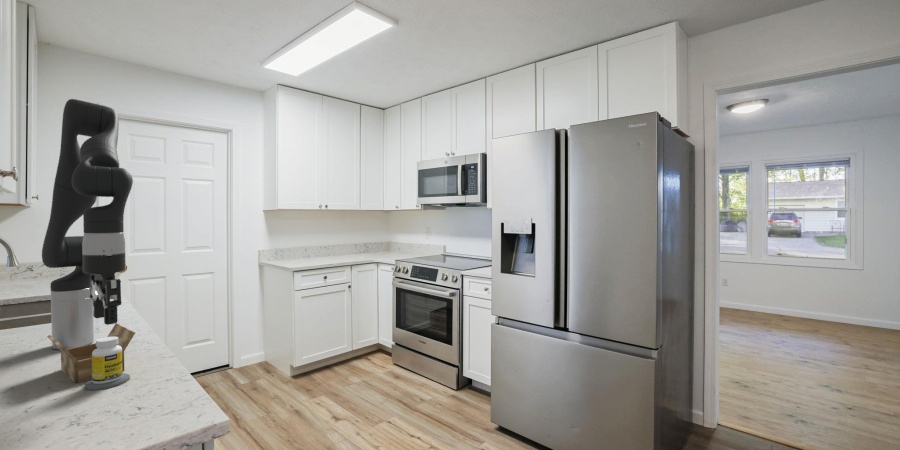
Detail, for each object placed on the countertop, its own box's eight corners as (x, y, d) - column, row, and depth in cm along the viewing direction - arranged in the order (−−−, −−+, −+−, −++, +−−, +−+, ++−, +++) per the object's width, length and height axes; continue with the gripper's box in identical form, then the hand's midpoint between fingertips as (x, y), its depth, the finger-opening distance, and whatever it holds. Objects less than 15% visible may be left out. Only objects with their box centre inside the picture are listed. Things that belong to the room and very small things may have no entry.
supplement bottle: (104, 385, 89) (103, 343, 89) (85, 383, 90) (84, 341, 90) (128, 376, 94) (127, 336, 94) (110, 374, 95) (109, 334, 95)
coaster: (80, 384, 91) (80, 381, 91) (123, 373, 98) (123, 370, 98) (90, 393, 87) (89, 390, 87) (134, 381, 93) (134, 378, 93)
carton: (47, 372, 98) (46, 335, 98) (119, 356, 110) (118, 322, 109) (60, 387, 90) (59, 346, 90) (136, 367, 101) (135, 331, 101)
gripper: (75, 251, 92) (76, 318, 93) (91, 255, 84) (92, 330, 85) (115, 249, 98) (116, 312, 99) (134, 252, 90) (135, 322, 91)
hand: (105, 320), depth 92 cm, fingers open, 8 cm apart
